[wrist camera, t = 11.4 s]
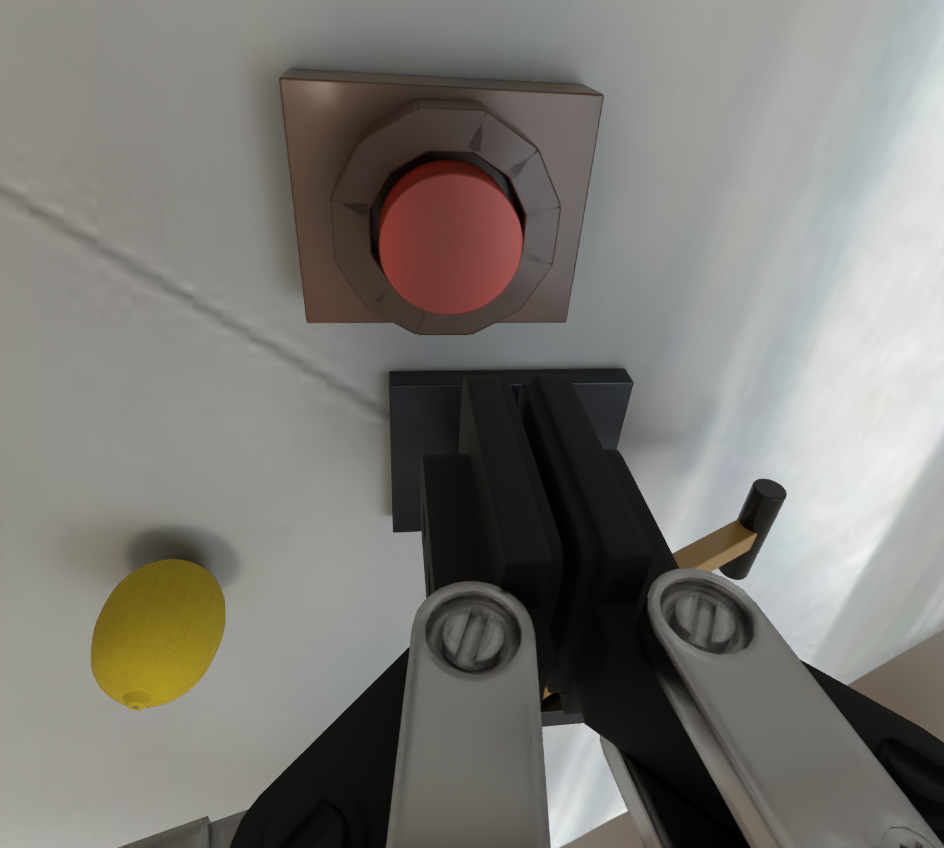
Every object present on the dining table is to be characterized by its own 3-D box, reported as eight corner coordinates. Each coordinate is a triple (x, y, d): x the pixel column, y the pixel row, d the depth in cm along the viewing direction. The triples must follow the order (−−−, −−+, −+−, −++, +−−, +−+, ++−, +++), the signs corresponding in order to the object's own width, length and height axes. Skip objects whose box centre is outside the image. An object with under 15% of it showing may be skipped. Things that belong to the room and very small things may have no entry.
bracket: (625, 368, 28) (766, 588, 18) (591, 507, 33) (685, 739, 23) (389, 371, 27) (394, 613, 16) (392, 516, 32) (398, 768, 22)
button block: (585, 84, 21) (622, 102, 18) (553, 298, 26) (577, 343, 22) (288, 68, 19) (270, 85, 16) (311, 297, 24) (301, 345, 21)
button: (519, 161, 19) (531, 175, 17) (506, 293, 21) (515, 315, 20) (376, 156, 18) (376, 170, 17) (380, 293, 21) (380, 315, 19)
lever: (755, 467, 26) (805, 501, 24) (720, 546, 29) (763, 581, 27) (506, 585, 20) (551, 640, 18) (494, 670, 23) (531, 724, 21)
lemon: (125, 589, 33) (62, 736, 26) (129, 518, 30) (61, 664, 23) (231, 601, 34) (197, 743, 28) (246, 535, 31) (211, 677, 25)
